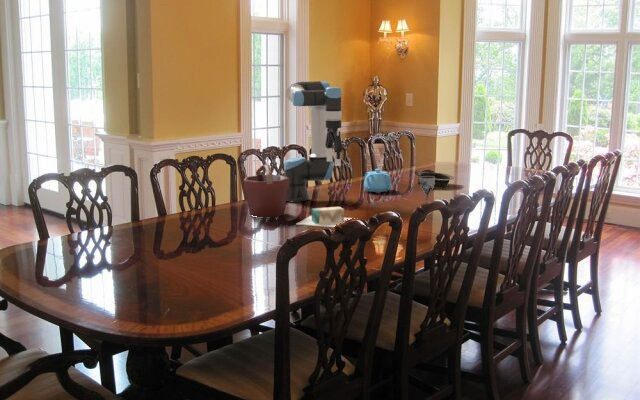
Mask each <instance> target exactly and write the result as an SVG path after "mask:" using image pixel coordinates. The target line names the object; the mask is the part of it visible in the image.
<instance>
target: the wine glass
mask: <svg viewBox="0 0 640 400" xmlns="http://www.w3.org/2000/svg"><path fill="white" fill-rule="evenodd" d="M419 178H420V185H419V186H420V188H421V190H422V192H424V194H425V198H426V199H425V200H426V202H428V203H429V201H428V199H429V195H430V192H432V190H433V189H435V188H434V185H435V177H433V176H421V177H419ZM426 202H425V203H426Z"/></svg>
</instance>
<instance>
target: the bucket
mask: <svg viewBox="0 0 640 400" xmlns="http://www.w3.org/2000/svg"><path fill="white" fill-rule="evenodd" d="M264 170H265V174H262V172H263V171H264ZM243 188H244V193H245V197H246V201H247V206H248V210H249V211H248V212H249V215H253V216H257V217H277V218H279V216H280V217H282V216H284V215H285V212H286V206H287V202H286V201H287V195H288V190H289V178H288V177H285V175H282V174H278V175H277V174H273V171H272V166H271V165H270V164H262V165H260V167H259V168H258V169H256V170H255V175H250V176H245V178H244V179H243ZM283 214H284V215H283ZM281 215H282V216H281Z"/></svg>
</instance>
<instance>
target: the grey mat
mask: <svg viewBox="0 0 640 400" xmlns="http://www.w3.org/2000/svg"><path fill="white" fill-rule="evenodd" d="M352 218H354V217H345V216H344V222H345V220H346V221H347V219H348V220H350V219H352ZM355 218H357V217H355ZM355 218H354V219H355ZM357 219H358V220H359V218H357ZM340 223H342V222H329V223H316V224H315V223H314V222H313V221H312V214H311V215H309V216H307V217H306V218H303V219H302V220H301V221H299V222H296V223H295V226H296V225H298V226H311V227H321V228H322V227H324V228H334V227H335V226H336V224H337V225H339V224H340Z"/></svg>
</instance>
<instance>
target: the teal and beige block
mask: <svg viewBox="0 0 640 400" xmlns="http://www.w3.org/2000/svg"><path fill="white" fill-rule="evenodd" d="M344 210H345V209H344V208H342V207H341V206H331V207H330V206H329V207H317V208H316V207H315V208H311V215H312V221H313V222H314V223H315V224H316V223H329V222H343V221H344V217H345V215H344V212H345V211H344Z"/></svg>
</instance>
